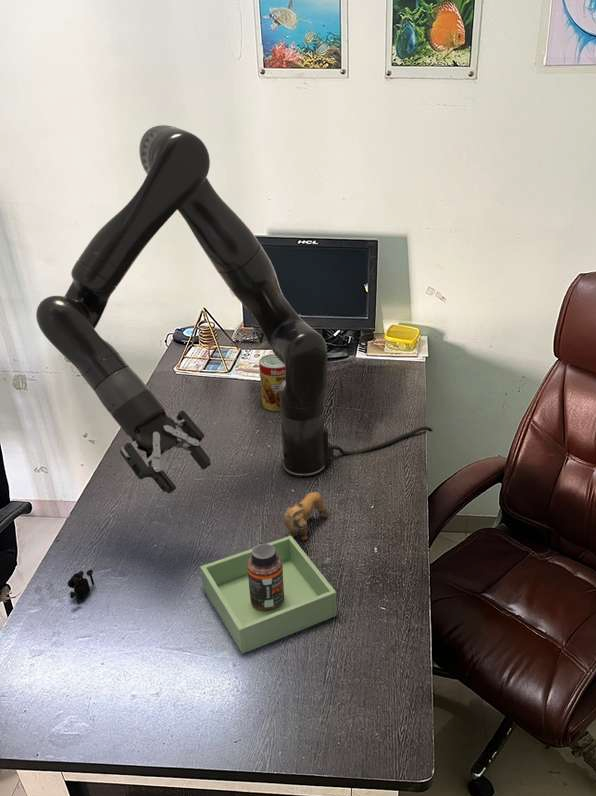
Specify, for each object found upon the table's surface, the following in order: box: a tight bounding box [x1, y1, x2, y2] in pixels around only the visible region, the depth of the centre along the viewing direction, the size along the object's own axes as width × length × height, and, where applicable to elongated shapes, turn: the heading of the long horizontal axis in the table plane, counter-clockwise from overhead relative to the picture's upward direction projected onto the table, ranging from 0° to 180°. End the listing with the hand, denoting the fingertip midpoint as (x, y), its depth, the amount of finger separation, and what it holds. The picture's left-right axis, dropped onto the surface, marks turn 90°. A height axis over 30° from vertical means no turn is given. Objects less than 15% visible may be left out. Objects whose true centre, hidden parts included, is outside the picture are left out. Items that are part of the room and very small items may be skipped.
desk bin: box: [200, 536, 337, 655], centre depth 130 cm, size 18×18×6 cm
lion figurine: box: [283, 491, 328, 541], centre depth 146 cm, size 15×5×9 cm, turn 163°
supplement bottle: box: [247, 543, 284, 610], centre depth 127 cm, size 6×6×11 cm
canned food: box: [258, 353, 286, 412], centre depth 186 cm, size 8×8×12 cm
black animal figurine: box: [67, 569, 95, 605], centre depth 130 cm, size 7×2×5 cm, turn 168°
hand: (190, 478), depth 126 cm, fingers open, 8 cm apart
